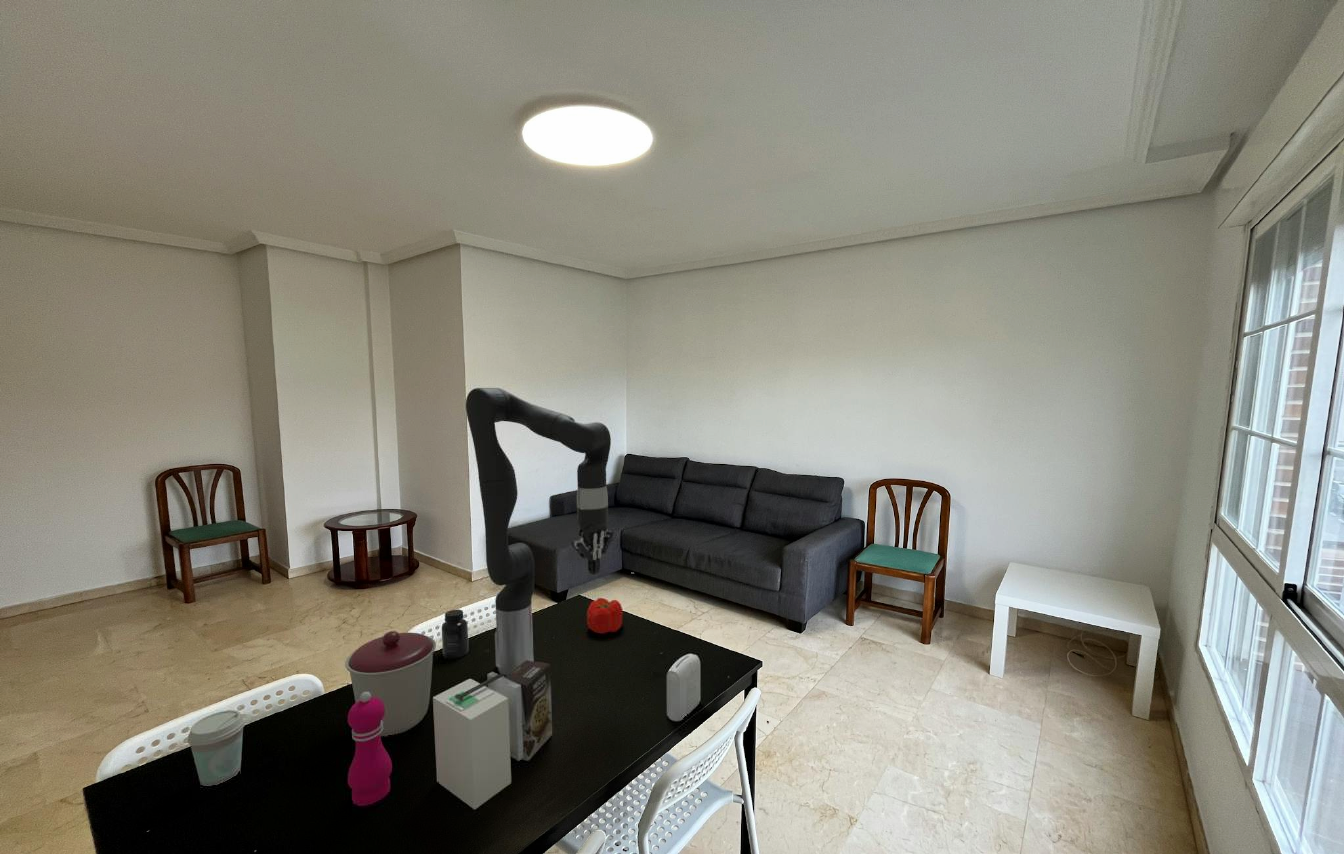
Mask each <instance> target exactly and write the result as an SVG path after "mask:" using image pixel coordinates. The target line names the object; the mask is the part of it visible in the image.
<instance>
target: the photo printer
mask: <svg viewBox="0 0 1344 854" xmlns="http://www.w3.org/2000/svg"><path fill="white" fill-rule="evenodd" d="M699 702H700V703H701V661H700V658H699V656H698V655H696V654H693V653H688V654H685V655H683V656H681V657H679V659H677V660H676V661H675V662H674V663H673V664H672V666H671V667H670V668H669V670H668V672H667V673H666V715H667V717H668V718H669V720H671V721H673V722H680V721H682V720H684V719H685V718H686V717H688V715H690V714H691V712H692V711H693V710H694V709H696V708H697V706H698V705H699V704H700V703H699ZM687 714H688V715H687ZM685 716H686V717H685ZM684 717H685V718H684ZM683 718H684V719H683Z"/></svg>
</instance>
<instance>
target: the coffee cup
mask: <svg viewBox="0 0 1344 854" xmlns="http://www.w3.org/2000/svg"><path fill="white" fill-rule="evenodd" d="M245 725H246V720H245V718H244V716H243V715H242V713H241V712H240V711H239V710H234V709H229V710H227V709H226V710H222V711H218V712H215V713H212V714H209V715H207V716H205V717H203V718H201V719H200V720H198V721H196V722H195V723H194V724H193V725H192V726H191V727H190V731H189V733H188V735H187V736H188V737H187V743H188V744H189V745H190V749H191V752H192V757H193V759H194V764H195V768H196V771H197V775H198V778H199V779H198V780H199V783H200V786H201V785H203V786H212V785H218V784H220V783H223V782H225V781H227V780H229V779H231V778H232V777H234V776H236V775H237V774H238V772H239V771H240V772H241V767H242V751H243V749H242V748H243V735H244V733H243V732H244V727H245Z"/></svg>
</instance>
